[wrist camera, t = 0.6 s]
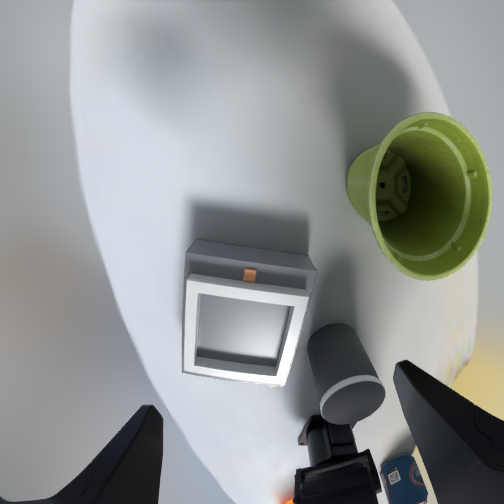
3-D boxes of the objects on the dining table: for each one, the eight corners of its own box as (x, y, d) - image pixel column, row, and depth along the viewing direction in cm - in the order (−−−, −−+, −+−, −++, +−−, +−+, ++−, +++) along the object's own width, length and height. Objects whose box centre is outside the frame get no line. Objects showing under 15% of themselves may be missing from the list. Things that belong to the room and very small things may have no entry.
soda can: (417, 454, 33) (435, 499, 22) (387, 472, 35) (401, 516, 24) (404, 449, 32) (423, 499, 21) (372, 468, 34) (385, 518, 22)
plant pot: (419, 128, 18) (486, 119, 10) (426, 233, 21) (488, 266, 13) (318, 130, 19) (357, 108, 11) (332, 248, 22) (372, 295, 14)
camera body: (282, 361, 25) (285, 395, 21) (189, 349, 25) (178, 381, 21) (308, 255, 22) (320, 278, 17) (196, 239, 22) (181, 258, 17)
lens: (347, 365, 25) (370, 422, 18) (301, 363, 25) (312, 425, 18) (364, 324, 24) (396, 379, 16) (314, 320, 24) (334, 381, 16)
